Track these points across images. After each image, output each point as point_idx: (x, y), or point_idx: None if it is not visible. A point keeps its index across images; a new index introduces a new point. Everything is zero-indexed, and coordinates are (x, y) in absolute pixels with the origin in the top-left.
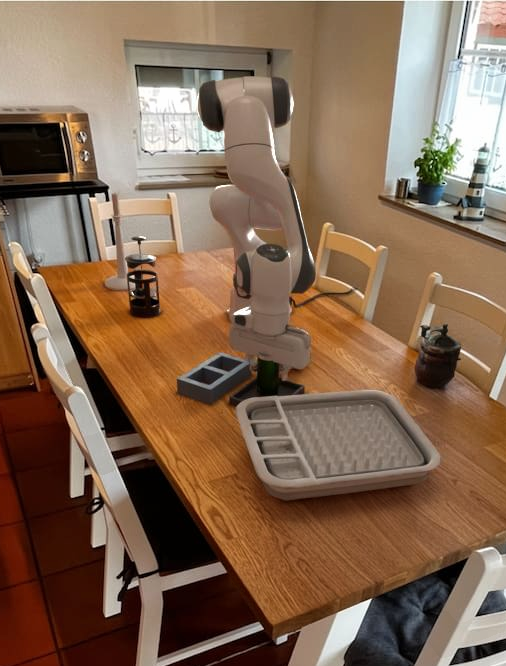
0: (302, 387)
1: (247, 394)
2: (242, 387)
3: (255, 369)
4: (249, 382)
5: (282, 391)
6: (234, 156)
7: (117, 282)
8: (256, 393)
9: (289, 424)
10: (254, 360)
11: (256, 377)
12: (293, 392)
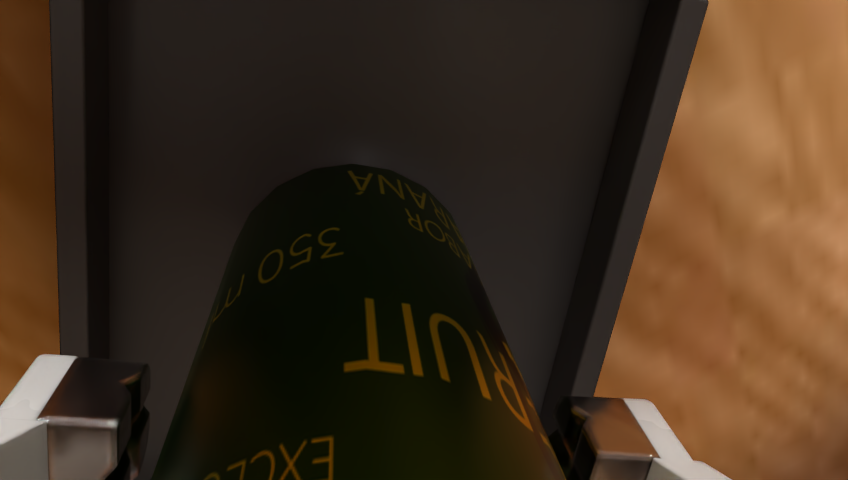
0: (698, 27)
1: (150, 316)
2: (62, 344)
3: (134, 462)
4: (59, 207)
5: (455, 95)
6: None
7: None
8: (221, 260)
9: None
10: (4, 468)
11: (57, 43)
12: (575, 59)
